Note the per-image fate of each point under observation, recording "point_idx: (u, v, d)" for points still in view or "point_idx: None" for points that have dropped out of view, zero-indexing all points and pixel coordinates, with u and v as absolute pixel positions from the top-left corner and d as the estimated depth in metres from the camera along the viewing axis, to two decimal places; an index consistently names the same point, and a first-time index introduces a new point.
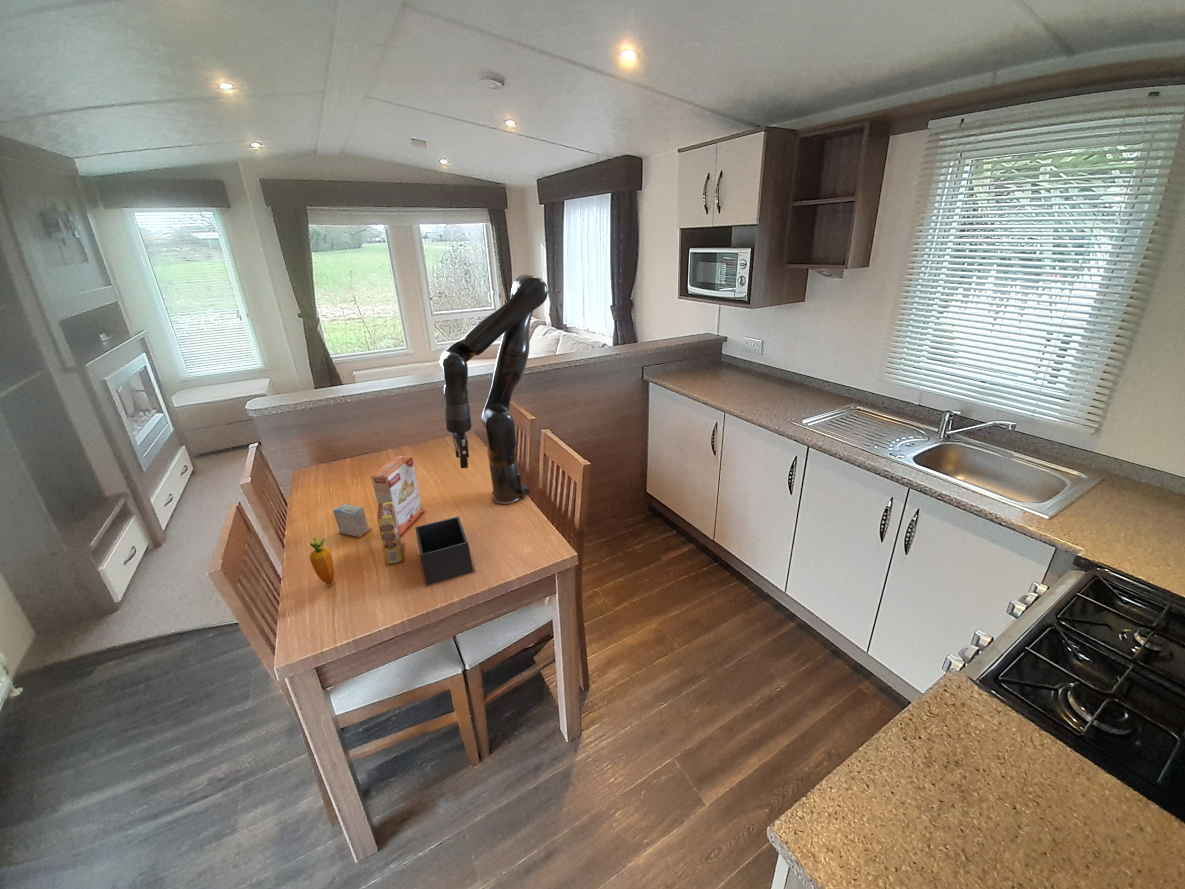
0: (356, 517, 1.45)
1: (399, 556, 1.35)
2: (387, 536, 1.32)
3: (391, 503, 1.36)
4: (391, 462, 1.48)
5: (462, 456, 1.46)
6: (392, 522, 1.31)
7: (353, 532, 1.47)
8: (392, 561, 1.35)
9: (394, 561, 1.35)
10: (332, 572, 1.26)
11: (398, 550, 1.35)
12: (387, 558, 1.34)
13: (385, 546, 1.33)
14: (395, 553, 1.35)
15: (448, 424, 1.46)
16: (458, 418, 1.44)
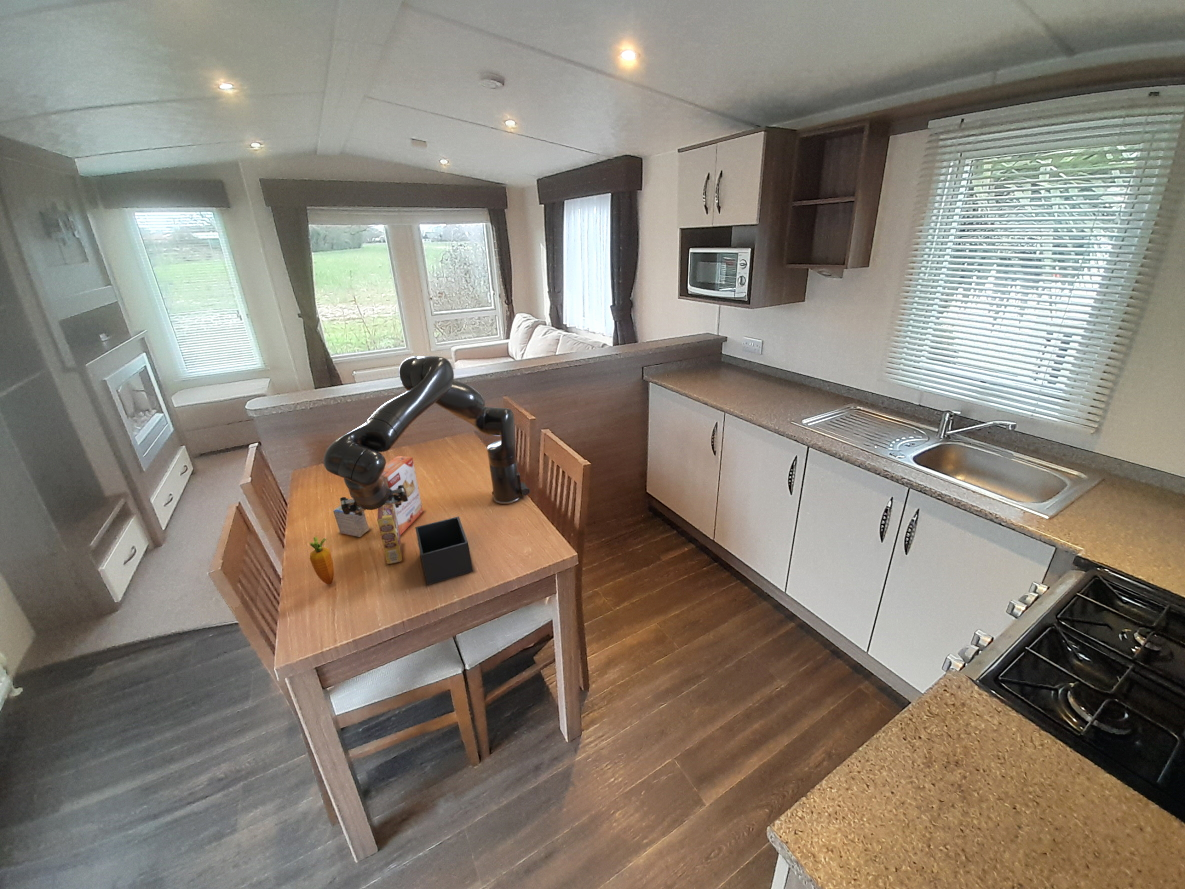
0: (356, 517, 1.45)
1: (399, 556, 1.35)
2: (387, 536, 1.32)
3: None
4: (391, 462, 1.48)
5: (407, 498, 1.17)
6: (392, 522, 1.31)
7: (353, 532, 1.47)
8: (392, 561, 1.35)
9: (394, 561, 1.35)
10: (332, 572, 1.26)
11: (398, 550, 1.35)
12: (387, 558, 1.34)
13: (385, 546, 1.33)
14: (395, 553, 1.35)
15: (380, 503, 1.07)
16: (387, 486, 1.06)
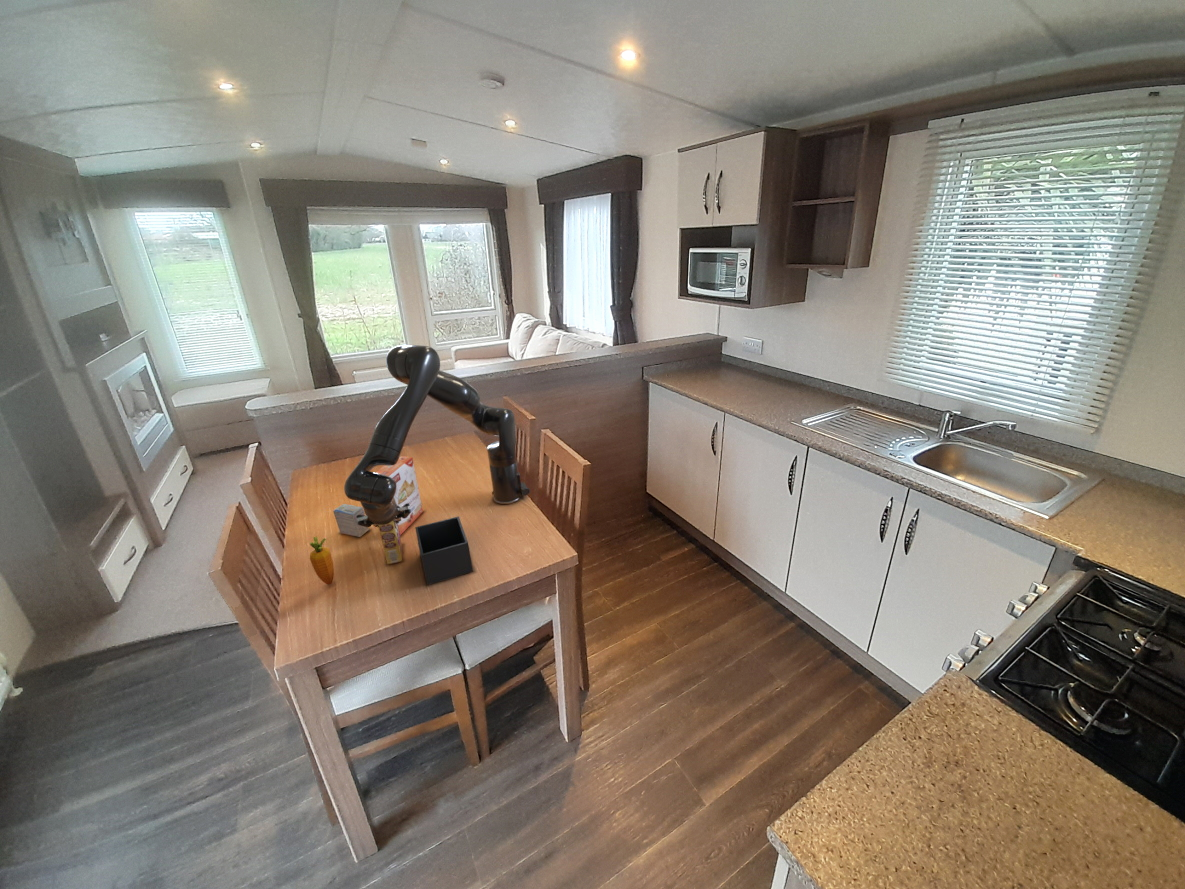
0: (356, 517, 1.45)
1: (399, 556, 1.35)
2: (387, 536, 1.32)
3: None
4: None
5: None
6: (392, 522, 1.31)
7: (353, 532, 1.47)
8: (392, 561, 1.35)
9: (394, 561, 1.35)
10: (332, 572, 1.26)
11: (398, 550, 1.35)
12: (387, 558, 1.34)
13: (385, 546, 1.33)
14: (395, 553, 1.35)
15: (390, 519, 1.23)
16: None
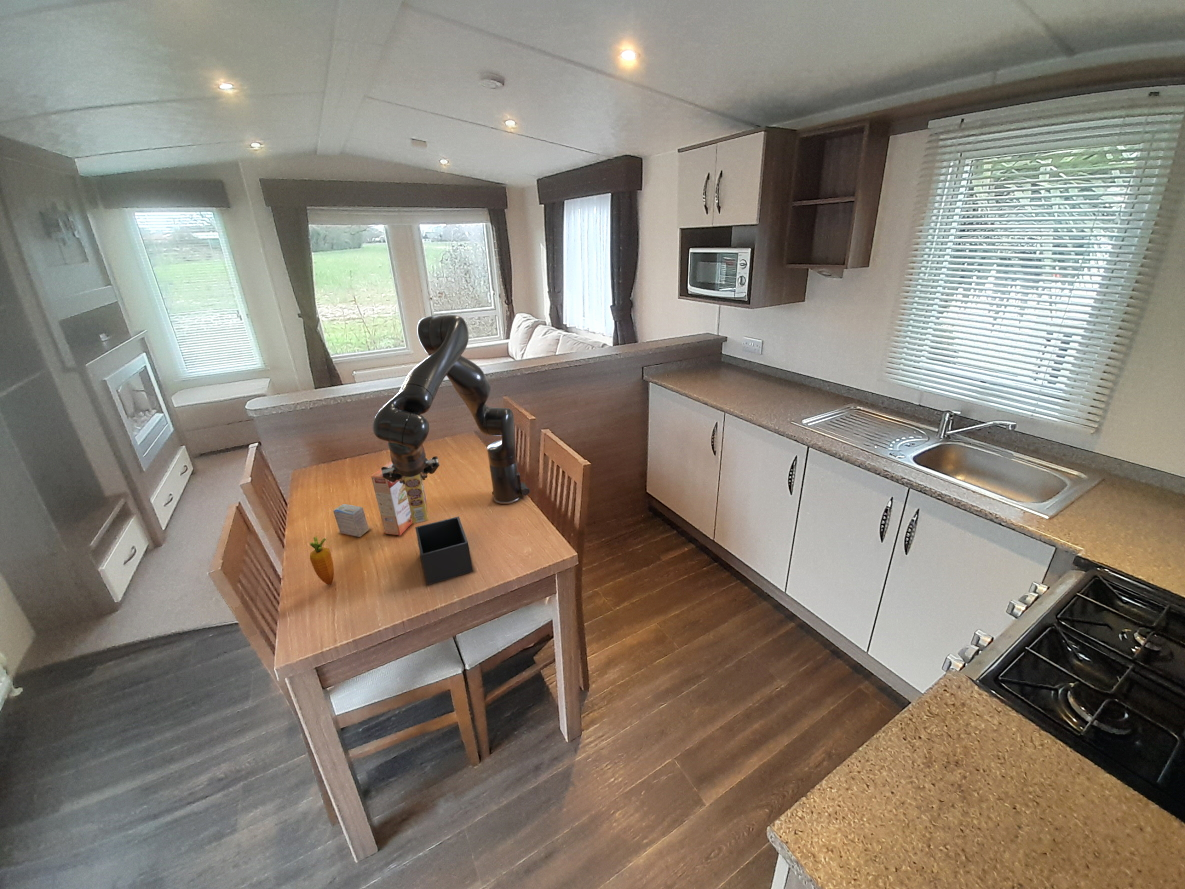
0: (356, 517, 1.45)
1: (425, 515, 1.25)
2: (413, 492, 1.22)
3: None
4: (391, 462, 1.48)
5: None
6: (418, 477, 1.21)
7: (353, 532, 1.47)
8: (418, 520, 1.25)
9: (420, 520, 1.25)
10: (332, 572, 1.26)
11: (424, 508, 1.25)
12: (413, 517, 1.24)
13: (411, 504, 1.23)
14: (421, 512, 1.25)
15: (419, 470, 1.13)
16: (425, 454, 1.13)
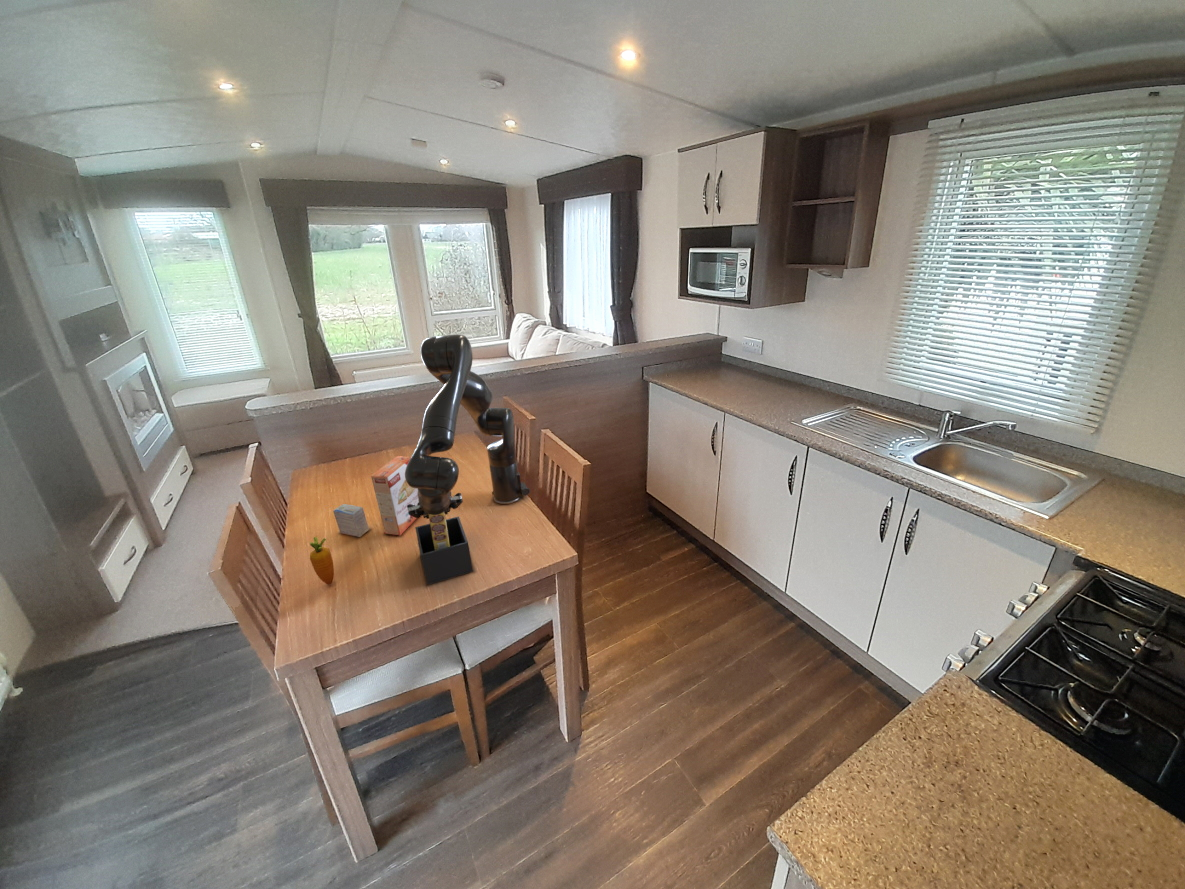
0: (356, 517, 1.45)
1: None
2: (437, 527, 1.25)
3: None
4: (391, 462, 1.48)
5: None
6: None
7: (353, 532, 1.47)
8: None
9: None
10: (332, 572, 1.26)
11: (448, 542, 1.27)
12: None
13: (434, 539, 1.26)
14: (444, 546, 1.27)
15: (445, 508, 1.16)
16: None
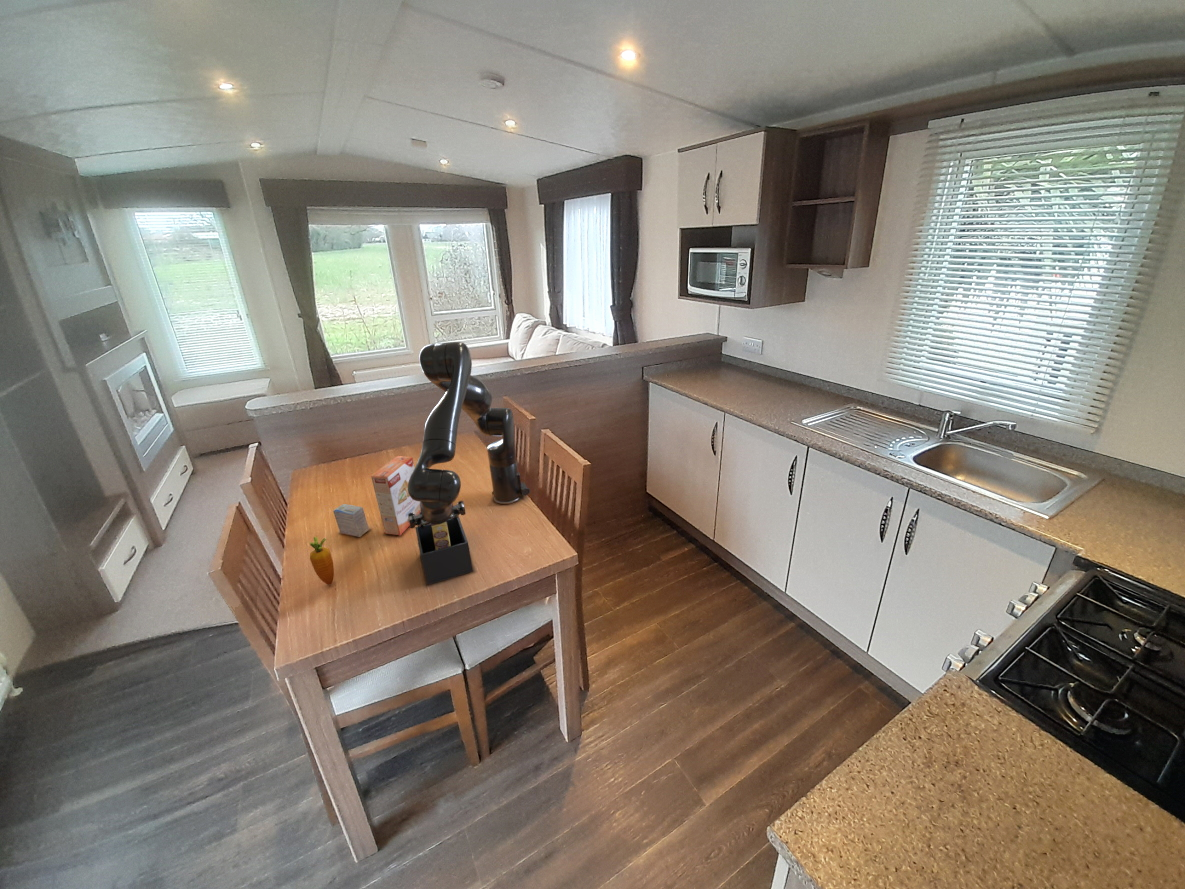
0: (356, 517, 1.45)
1: None
2: (440, 543, 1.27)
3: None
4: (391, 462, 1.48)
5: (465, 512, 1.28)
6: (446, 528, 1.26)
7: (353, 532, 1.47)
8: None
9: None
10: (332, 572, 1.26)
11: None
12: None
13: None
14: None
15: (446, 518, 1.17)
16: None
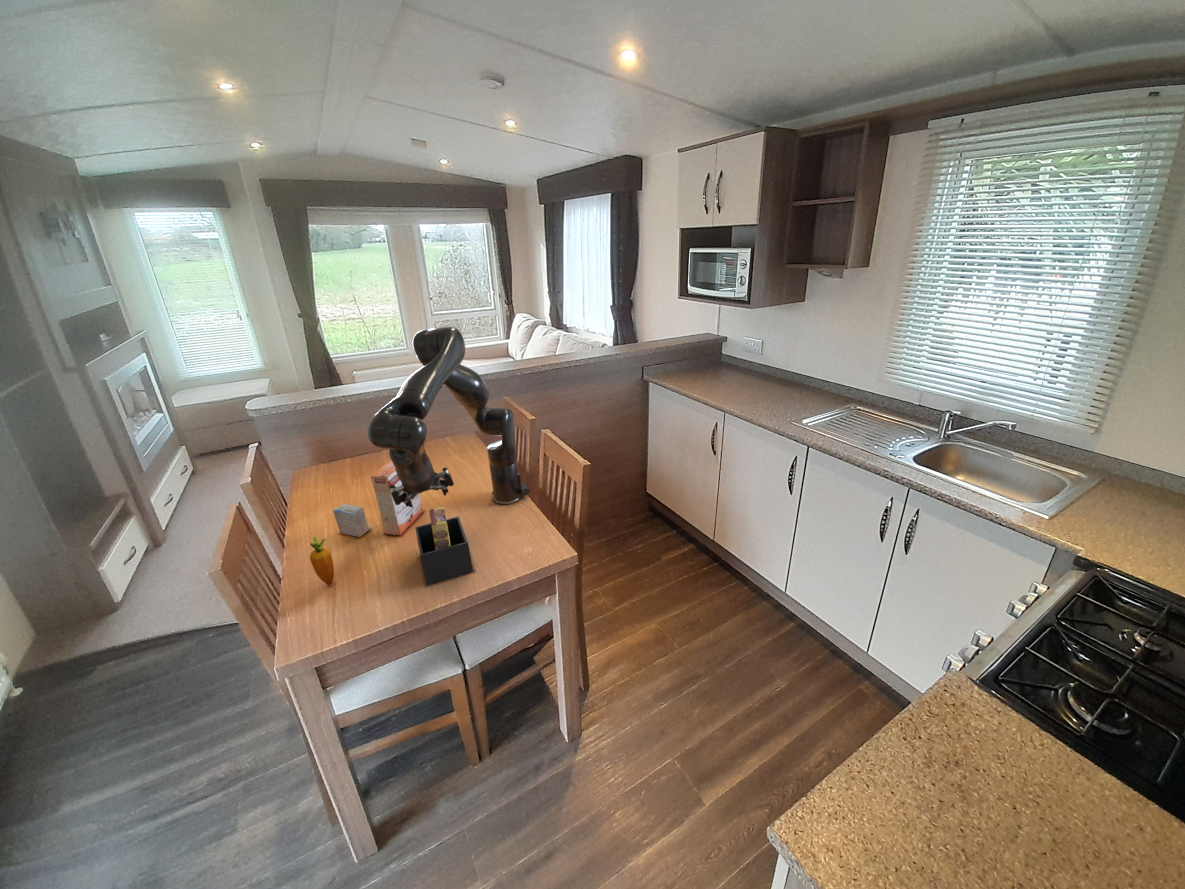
0: (356, 517, 1.45)
1: None
2: (440, 543, 1.27)
3: (442, 508, 1.31)
4: (391, 462, 1.48)
5: None
6: (446, 528, 1.26)
7: (353, 532, 1.47)
8: None
9: None
10: (332, 572, 1.26)
11: None
12: None
13: None
14: None
15: (428, 483, 1.08)
16: (431, 465, 1.08)
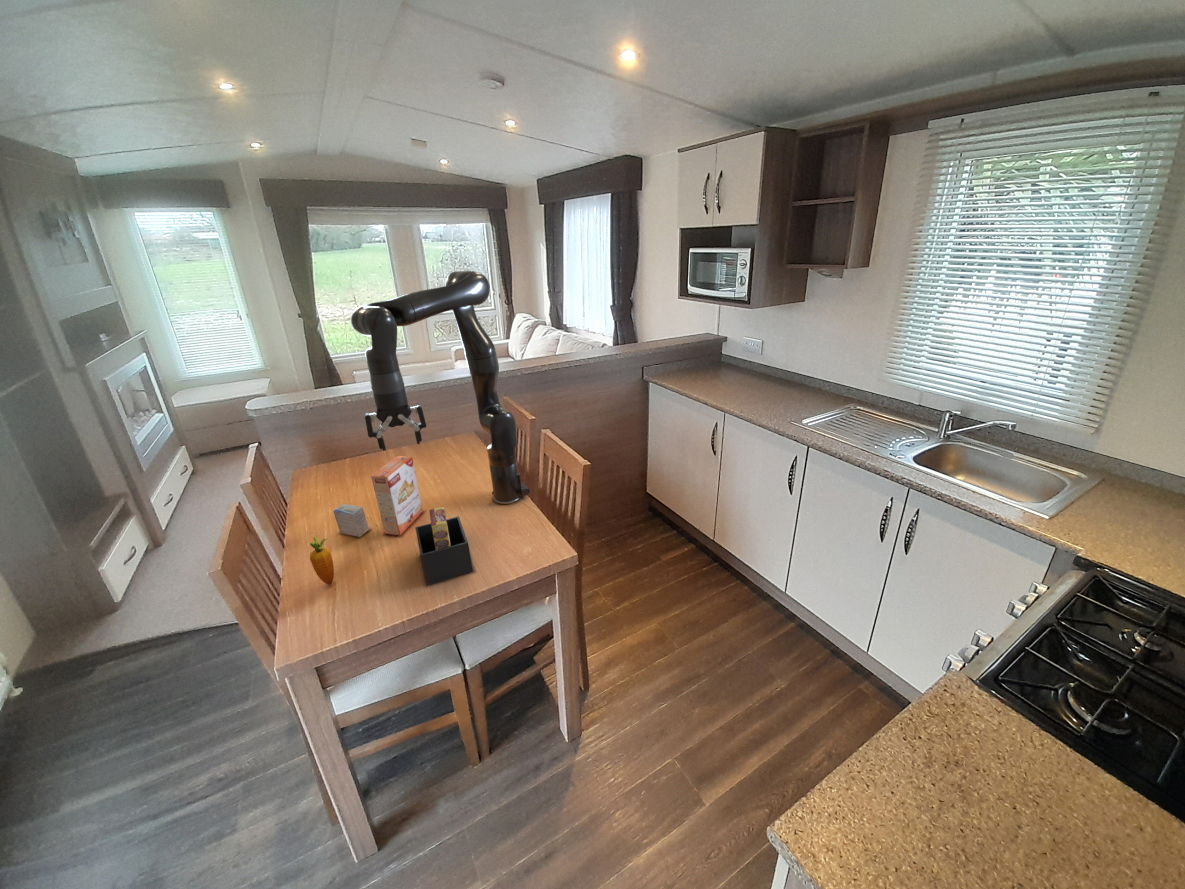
0: (356, 517, 1.45)
1: None
2: (440, 543, 1.27)
3: (442, 508, 1.31)
4: (391, 462, 1.48)
5: (425, 424, 1.26)
6: (446, 528, 1.26)
7: (353, 532, 1.47)
8: None
9: None
10: (332, 572, 1.26)
11: None
12: None
13: None
14: None
15: (398, 398, 1.18)
16: None
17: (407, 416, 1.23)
